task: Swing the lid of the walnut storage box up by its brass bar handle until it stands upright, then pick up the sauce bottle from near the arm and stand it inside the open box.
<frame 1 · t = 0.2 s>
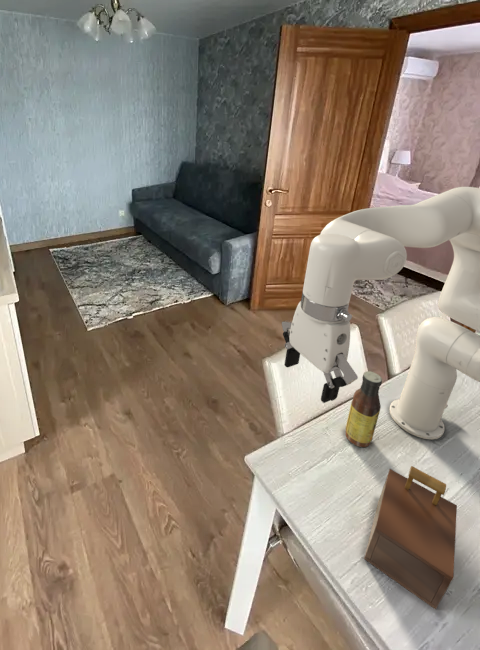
hand: (308, 381, 66), 31 cm above the table, tool pointing down, fingers open, 9 cm apart
sauce bottle: (356, 437, 90), on the table
storage box: (403, 549, 67), on the table
box lid: (420, 508, 63), point 12 cm above the table, hinge at 0.0°
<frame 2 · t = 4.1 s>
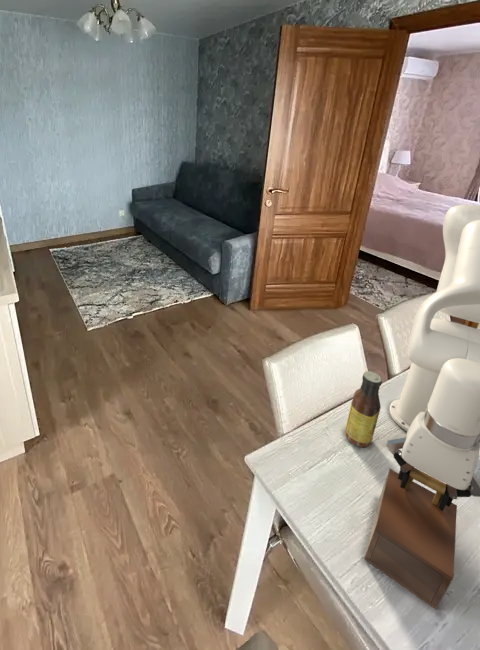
hand: (421, 492, 67), 11 cm above the table, tool pointing down, fingers closed on box lid, 5 cm apart
box lid: (420, 508, 63), point 12 cm above the table, hinge at 0.0°, touching gripper
everything else where it was.
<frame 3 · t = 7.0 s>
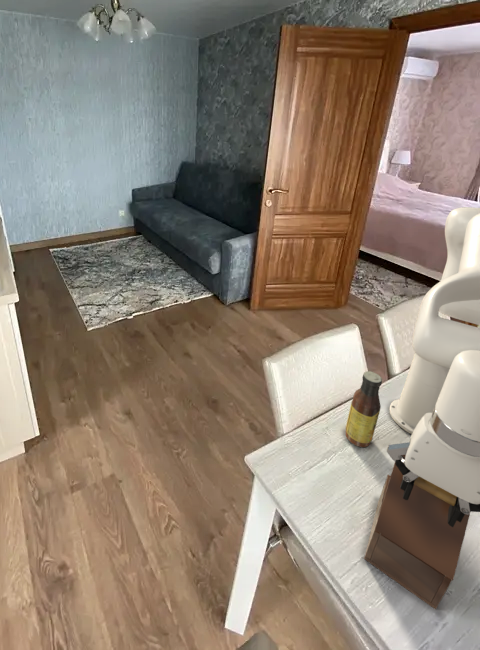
hand: (427, 504, 58), 18 cm above the table, tool pointing down, fingers closed on box lid, 5 cm apart
box lid: (424, 514, 58), point 17 cm above the table, hinge at 50.4°, touching gripper
everything else where it was.
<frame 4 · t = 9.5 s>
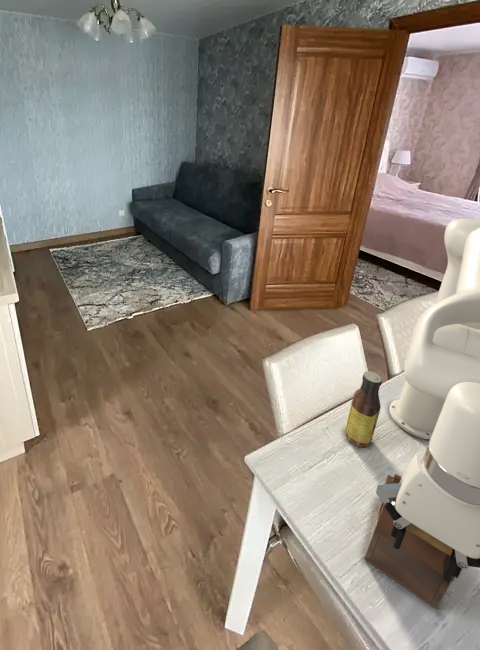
hand: (421, 555, 52), 17 cm above the table, tool pointing down, fingers closed on box lid, 5 cm apart
box lid: (421, 541, 54), point 16 cm above the table, hinge at 88.4°, touching gripper
everything else where it was.
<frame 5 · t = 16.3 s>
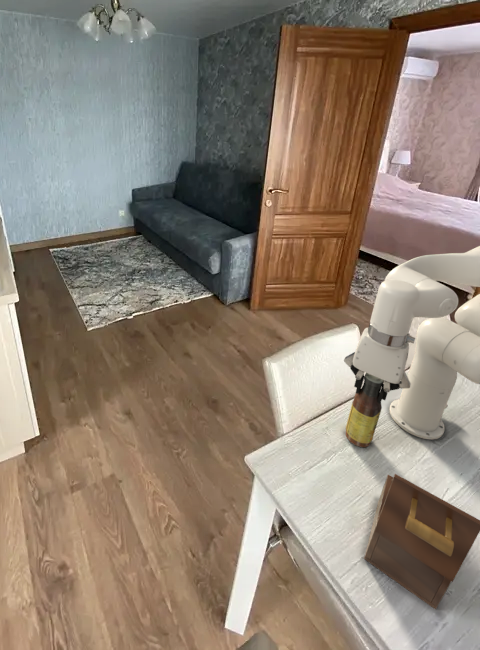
hand: (369, 394, 84), 15 cm above the table, tool pointing down, fingers closed on sauce bottle, 4 cm apart
sauce bottle: (356, 437, 90), on the table, touching gripper
box lid: (421, 541, 54), point 16 cm above the table, hinge at 88.6°
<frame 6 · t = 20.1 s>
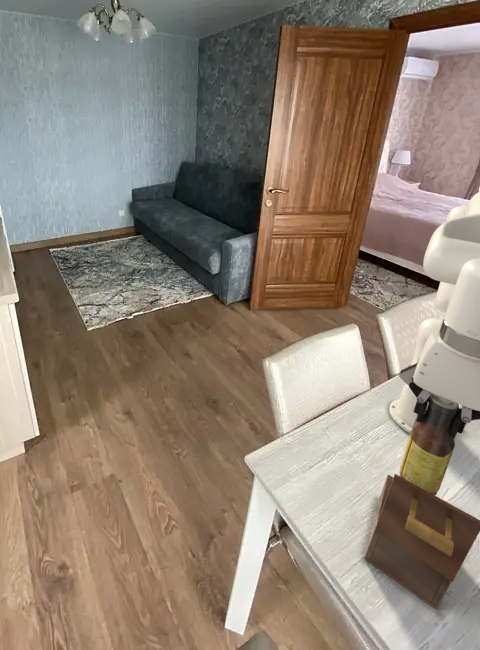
hand: (435, 423, 60), 29 cm above the table, tool pointing down, fingers closed on sauce bottle, 4 cm apart
sauce bottle: (416, 482, 65), point 14 cm above the table, touching gripper
everything else where it was.
when the fingers open (16 cm above the table, at t = 23.8 s): sauce bottle stays where it is, resting on storage box.
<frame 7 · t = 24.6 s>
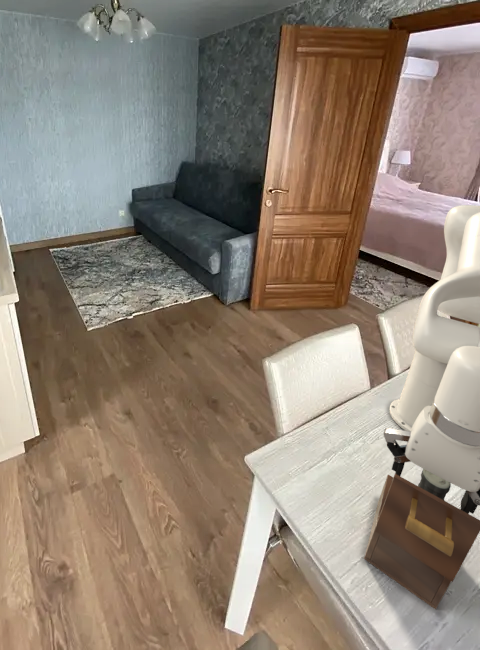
hand: (428, 491, 61), 17 cm above the table, tool pointing down, fingers open, 9 cm apart
sauce bottle: (408, 549, 67), point 1 cm above the table, touching storage box
everything else where it was.
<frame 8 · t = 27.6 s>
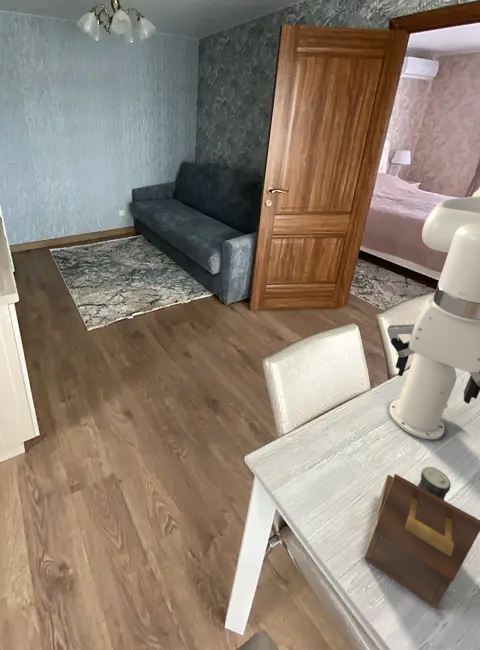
hand: (432, 384, 61), 34 cm above the table, tool pointing down, fingers open, 9 cm apart
nothing on the table moved.
at the end: box lid at +89° (first picture: +0°); sauce bottle inside the target area in the storage box (0.6 cm from its centre), point 0.7 cm above the storage box's base; sauce bottle tilted 0° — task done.
